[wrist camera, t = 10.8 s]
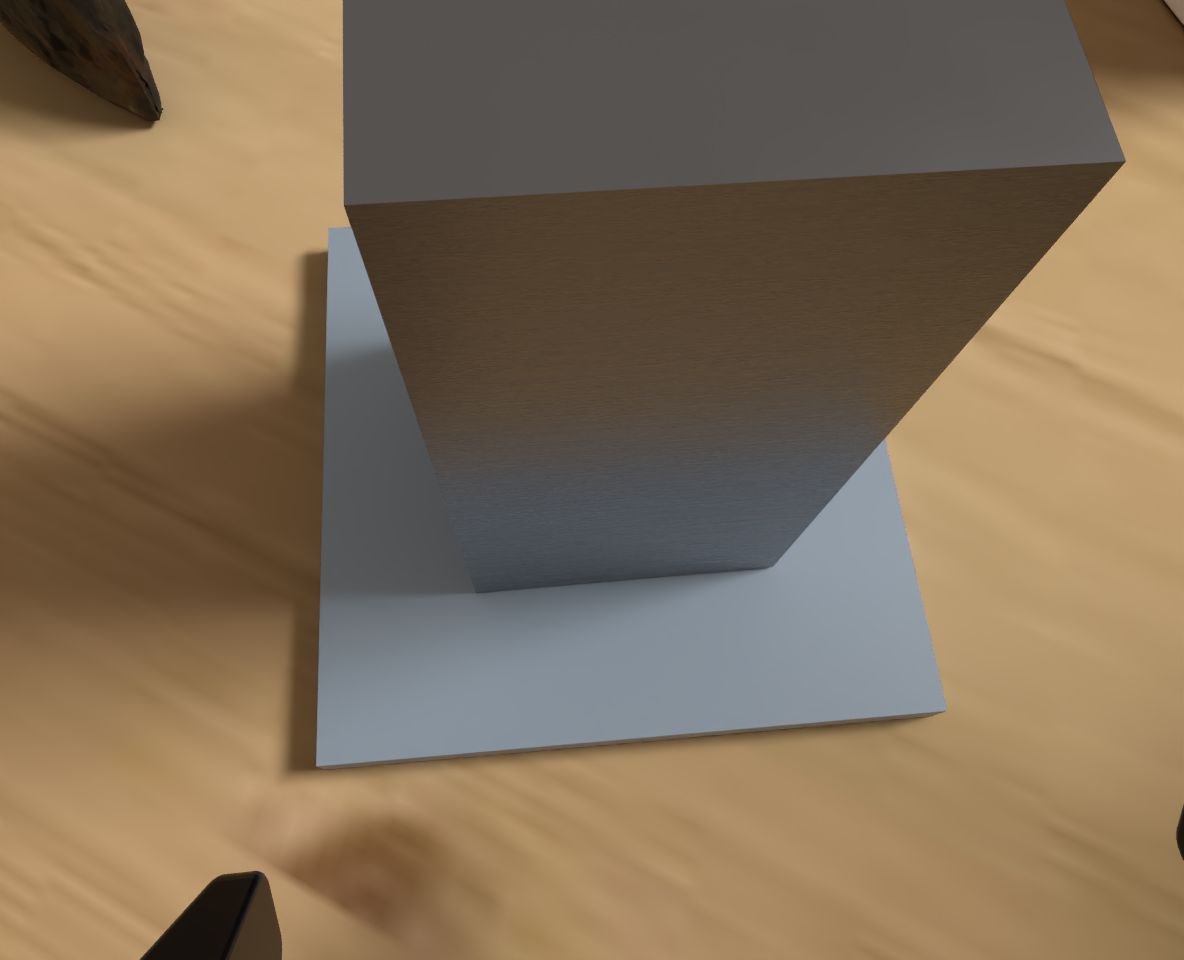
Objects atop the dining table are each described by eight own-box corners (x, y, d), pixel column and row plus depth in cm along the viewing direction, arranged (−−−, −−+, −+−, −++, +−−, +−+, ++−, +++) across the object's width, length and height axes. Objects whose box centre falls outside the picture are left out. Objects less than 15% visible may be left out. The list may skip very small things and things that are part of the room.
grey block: (772, 567, 18) (1125, 161, 7) (475, 593, 18) (343, 205, 7) (727, 311, 20) (942, -318, 9) (461, 329, 20) (340, -309, 9)
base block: (917, 720, 19) (1024, 685, 15) (334, 772, 18) (269, 750, 14) (814, 245, 23) (873, 113, 19) (342, 266, 22) (295, 133, 18)
